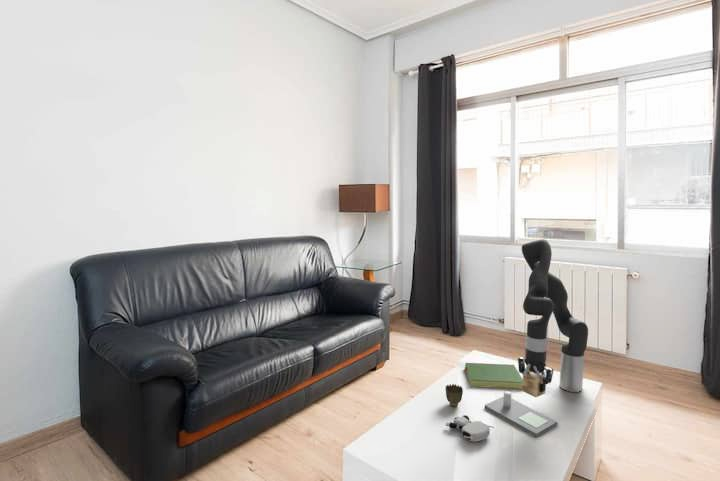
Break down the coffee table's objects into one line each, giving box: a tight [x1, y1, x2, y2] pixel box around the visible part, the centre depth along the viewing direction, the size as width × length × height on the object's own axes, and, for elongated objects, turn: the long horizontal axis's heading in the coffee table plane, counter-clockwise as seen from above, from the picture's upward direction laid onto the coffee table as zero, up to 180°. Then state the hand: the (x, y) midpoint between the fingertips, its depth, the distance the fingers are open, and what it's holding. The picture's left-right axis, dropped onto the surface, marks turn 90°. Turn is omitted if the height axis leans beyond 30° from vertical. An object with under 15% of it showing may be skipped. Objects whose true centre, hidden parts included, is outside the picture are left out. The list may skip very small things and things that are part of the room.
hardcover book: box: [464, 362, 523, 390], centre depth 194 cm, size 25×19×4 cm
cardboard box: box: [521, 372, 546, 398], centre depth 154 cm, size 6×6×6 cm
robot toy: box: [445, 414, 495, 442], centre depth 150 cm, size 12×4×15 cm
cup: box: [445, 383, 464, 408], centre depth 169 cm, size 8×7×8 cm
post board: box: [484, 391, 559, 438], centre depth 160 cm, size 14×24×8 cm, turn 33°
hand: (534, 388), depth 154 cm, fingers closed on cardboard box, 6 cm apart
